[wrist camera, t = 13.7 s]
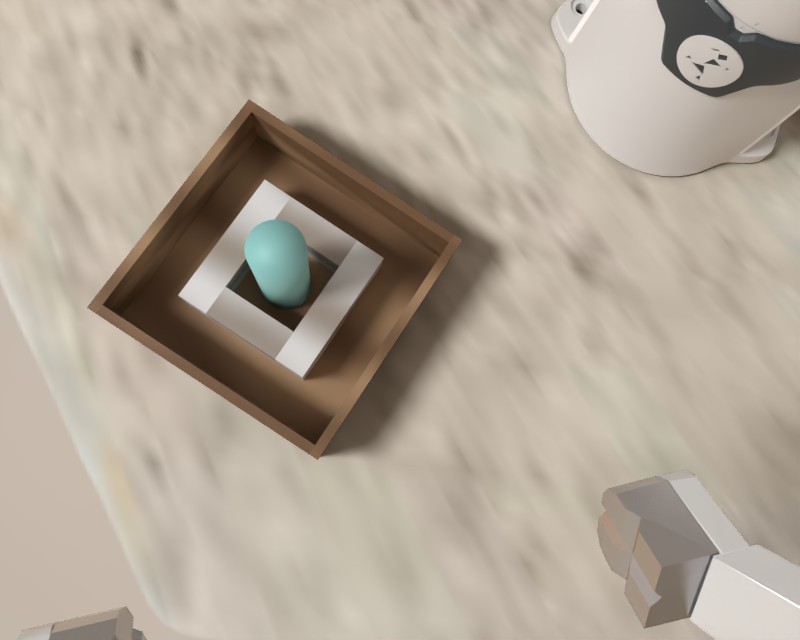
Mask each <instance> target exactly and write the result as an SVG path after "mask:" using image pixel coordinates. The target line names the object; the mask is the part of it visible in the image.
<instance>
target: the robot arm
mask: <svg viewBox="0 0 800 640" xmlns="http://www.w3.org/2000/svg"><path fill="white" fill-rule="evenodd" d="M576 10H580V11H581V12H582V13H583V14H579V13H578V12H577V11H576ZM551 26H552V30H553V33H554V35H555V38H556V40H557V42H558V44H559V46H560V48H561V50H562V52H563V54H564V57H565V62H566V76H567V87H568V92H569V96H570V100H571V103H572V106H573V109H574V111H575V113H576V115H577V117H578V119H579V121H580V123H581V124H582V126H583V128H584V129H585V130H586V132H587V133H588V134H589V136H590V137H591V138H592V139H593V140H594V141H595V142H596V144H597V145H598V146H600V147H601V148H602V149H603V150H604V151H605V152H606V153H608V154H609V155H610V156H612V157H613V158H615V159H616V160H618V161H619V162H621V163H623V164H625V165H627V166H629V167H631V168H633V169H636V170H639V171H642V172H645V173H649V174H653V175H660V176H684V175H690V174H694V173H698V172H701V171H704V170H706V169H708V168H711V167H713V166H716V165H719V164H722V163H726V162H731V163H755V162H759V161H761V160H763V159H764V158H765V157H766V156H767V155H769V154H770V153H771V152H772V150H773V148H774V146H775V143H776V139H777V136H778V133H779V129H780V126H781V123H782V122H783V121H785V120H786V119H787V118H788V117H790V116H791V115H792V114H793V113H795V112H796V111H797V110H798V109H800V0H566V1H565V2H564V3H563V4H562V5H561V6H560V7H559V9H558V10H557V11H556V12H555V14H554V15H553V17H552V20H551ZM602 504H603V506H604V507H605V509H606V511H605V512H604V513H603V514H602V515H601V516H600V517H599V520H598V528H597V532H598V537H599V543H600V547H601V549H602V552H603V554H604V557H605V559H606V561H607V563H608V564H609V566H610V568H611V570H612V571H614V572H615V573H617V574H618V575H620V576H621V577H623V578H625V579H626V584H625V592H624V594H625V595H626V597H627V599H628V601H629V603H630V604H631V606H632V608H633V610H634V612H635V613H636V615H637V617H638V619H639V620H640V622H641V624H642V626H643V628H648V627H652V626H656V625H660V624H664V623H669V622H673V621H677V620H681V619H685V618H689V617H691V618H690V620H691V621H692V622H693V623H695V624H696V625H697V626H698V627H700V628H701V629H702V630H704V631H705V632H706V633H708V634H709V635H710V636H711V637H713V638H714V639H715V640H800V567H799V566H797V565H795V564H793V563H791V562H790V561H788V560H786V559H784V558H782V557H780V556H779V555H777V554H775V553H773V552H771V551H769V550H768V549H766V548H764V547H762V546H760V545H758V544H756V545H751V546H750V545H749V544H748V543H747V541H746V540H745V539H744V538H743V536H742V535H741V534H740V533H739V531H738V530H737V529H736V527H735V526H734V525H733V524H732V522H731V521H730V520H729V518H728V517H727V516H726V515H725V513H724V512H723V511H722V509H721V508H720V507H719V506H718V504H717V503H716V502H715V501H714V499H713V498H712V497H711V495H710V494H709V493H708V492H707V490H706V489H705V488H704V486H703V485H702V484H701V483H700V481H699V480H698V479H697V477H696V476H695V475H694V474H693V473H691V472H690V471H688V470H681V471H677V472H673V473H669V474H665V475H662V476H654V477H651V478H647V479H643V480H639V481H635V482H632V483H628V484H624V485H620V486H616V487H612V488H609V489H607V490H606V491H605V492H604V493H603V497H602ZM132 627H133V616H132V614H131V613H130V611H129V610H128V608H127V607H126V606H125V607H121V608H116V609H112V610H108V611H104V612H99V613H95V614H91V615H87V616H82V617H78V618H74V619H70V620H65V621H61V622H55V623H50V624H47V625H42V626H38V627H35V628H30V629H27V630H22V632H21V634H20V635H19V637H18V639H17V640H147V639H146V638H145V636H144V634H143V632H142V631H139V630H136V629H133V628H132Z"/></svg>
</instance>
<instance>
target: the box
mask: <svg viewBox="0 0 800 640" xmlns="http://www.w3.org/2000/svg"><path fill="white" fill-rule="evenodd" d="M274 219H278V220H284V221H287V222H289V223H291V224H293V225H294V226H296V227H297V228H298V229H299V230H300V231H301V233H302V234H303V236H304V238H305V241H306V246H307V254H308V263H309V271H310V279H311V291H310V294H309V297H308V298H307V300H306V301H305V302H304V303H303V304H302V305H301V306H299V307H297V308H295V309H291V310H282V309H278V308H276V307H274V306H272V305H271V304H270V303H269V302H268V301H267V300H266V299H265V297H264V295H263V293H262V291H261V289H260V287H259V285H258V283H257V281H256V279H255V276H254V274H253V272H252V270H251V268H250V266H249V264H248V262H247V260H246V257H245V251H244V248H245V242H246V239H247V236H248V235H249V233H250V232H251V230H252V229H253V228H254V227H255V226H257V225H258V224H260V223H262V222H264V221H267V220H274ZM461 241H462V240H461V239H460V238H458V237H457V236H455V235H454V234H452V233H451V232H449V231H448V230H446V229H445V228H443V227H442V226H440V225H439V224H437V223H436V222H434V221H432V220H431V219H429V218H428V217H426V216H425V215H423V214H422V213H420V212H419V211H417V210H416V209H414V208H413V207H411V206H410V205H408V204H407V203H405V202H404V201H402V200H401V199H399V198H398V197H396V196H395V195H393V194H392V193H390V192H389V191H387V190H385V189H384V188H382V187H381V186H379V185H378V184H376V183H375V182H373V181H372V180H370V179H369V178H367V177H366V176H364V175H363V174H361V173H360V172H358V171H357V170H355V169H354V168H352V167H351V166H349V165H348V164H346V163H345V162H343V161H342V160H340V159H339V158H337V157H335V156H334V155H332V154H331V153H329V152H328V151H326V150H325V149H323V148H322V147H320V146H319V145H317V144H316V143H314V142H313V141H311V140H310V139H308V138H307V137H305V136H304V135H302V134H301V133H299V132H298V131H296V130H295V129H293V128H292V127H290V126H288V125H287V124H285V123H284V122H282V121H281V120H279V119H278V118H276V117H275V116H273V115H272V114H270V113H269V112H267V111H266V110H264V109H263V108H261V107H260V106H258V105H257V104H255V103H254V102H252V101H251V100H248V101H247V103H246V104H245V105H244V106H243V108H242V109H241V110H240V112H239V113H238V114H237V115H236V117H235V118H234V119H233V121H232V122H231V123H230V124H229V126H228V127H227V128H226V130H225V131H224V132H223V133H222V135H221V136H220V137H219V139H218V140H217V141H216V142H215V144H214V145H213V146H212V148H211V149H210V150H209V151H208V153H207V154H206V155H205V157H204V158H203V159H202V160H201V162H200V163H199V164H198V166H197V167H196V168H195V169H194V171H193V172H192V173H191V175H190V176H189V177H188V178H187V180H186V181H185V182H184V184H183V185H182V186H181V187H180V189H179V190H178V191H177V193H176V194H175V195H174V196H173V198H172V199H171V200H170V202H169V203H168V204H167V205H166V207H165V208H164V209H163V211H162V212H161V213H160V214H159V216H158V217H157V218H156V220H155V221H154V222H153V223H152V225H151V226H150V227H149V229H148V230H147V231H146V232H145V234H144V235H143V236H142V238H141V239H140V240H139V241H138V243H137V244H136V245H135V247H134V248H133V249H132V250H131V252H130V253H129V254H128V256H127V257H126V258H125V259H124V261H123V262H122V263H121V265H120V266H119V267H118V268H117V270H116V271H115V272H114V274H113V275H112V276H111V277H110V279H109V280H108V281H107V283H106V284H105V285H104V286H103V288H102V289H101V290H100V292H99V293H98V294H97V295H96V297H95V298H94V299H93V301H92V302H91V303H90V304H89V306H88V307H87V308H89V309H90V310H92V311H93V312H95V313H96V314H98V315H99V316H101V317H102V318H104V319H105V320H107V321H108V322H110V323H111V324H113V325H114V326H116V327H117V328H119V329H120V330H122V331H123V332H125V333H126V334H128V335H129V336H131V337H132V338H134V339H135V340H137V341H139V342H140V343H142V344H143V345H145V346H146V347H148V348H149V349H151V350H152V351H154V352H155V353H157V354H158V355H160V356H161V357H163V358H164V359H166V360H167V361H169V362H170V363H172V364H173V365H175V366H176V367H178V368H179V369H181V370H182V371H184V372H185V373H187V374H188V375H190V376H192V377H193V378H195V379H196V380H198V381H199V382H201V383H202V384H204V385H205V386H207V387H208V388H210V389H211V390H213V391H214V392H216V393H217V394H219V395H220V396H222V397H223V398H225V399H226V400H228V401H229V402H231V403H232V404H234V405H235V406H237V407H238V408H240V409H241V410H243V411H245V412H246V413H248V414H249V415H251V416H252V417H254V418H255V419H257V420H258V421H260V422H261V423H263V424H264V425H266V426H267V427H269V428H270V429H272V430H273V431H275V432H276V433H278V434H279V435H281V436H282V437H284V438H285V439H287V440H288V441H290V442H291V443H293V444H294V445H296V446H298V447H299V448H301V449H302V450H304V451H305V452H307V453H308V454H310V455H311V456H313V457H314V458H316V459H317V460H318V459H319V457H320V456H321V454H322V453H323V451H324V450H325V448H326V447H327V445H328V444H329V442H330V441H331V439H332V438H333V436H334V434H335V433H336V431H337V430H338V428H339V427H340V425H341V424H342V422H343V421H344V419H345V418H346V416H347V415H348V413H349V412H350V410H351V409H352V407H353V406H354V404H355V403H356V401H357V399H358V398H359V396H360V395H361V393H362V392H363V390H364V389H365V387H366V386H367V384H368V383H369V381H370V380H371V378H372V377H373V375H374V374H375V372H376V371H377V369H378V367H379V366H380V364H381V363H382V361H383V360H384V358H385V357H386V355H387V354H388V352H389V351H390V349H391V348H392V346H393V345H394V343H395V342H396V340H397V339H398V337H399V336H400V334H401V332H402V331H403V329H404V328H405V326H406V325H407V323H408V322H409V320H410V319H411V317H412V316H413V314H414V313H415V311H416V310H417V308H418V307H419V305H420V304H421V302H422V301H423V299H424V297H425V296H426V294H427V293H428V291H429V290H430V288H431V287H432V285H433V284H434V282H435V281H436V279H437V278H438V276H439V275H440V273H441V272H442V270H443V269H444V267H445V265H446V264H447V262H448V261H449V259H450V258H451V256H452V255H453V253H454V252H455V250H456V249H457V247H458V246H459V244H460V243H461Z"/></svg>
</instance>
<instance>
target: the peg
mask: <svg viewBox="0 0 800 640" xmlns="http://www.w3.org/2000/svg"><path fill="white" fill-rule="evenodd" d="M244 251H245V257H246V260H247V262H248V264H249V266H250V268H251V270H252V272H253V274H254V276H255V279H256V281H257V283H258V285H259V287H260V289H261V291H262V293H263V295H264V297H265V299H266V300H267V301H268V302H269V303H270V304H271V305H272V306H274V307H276V308H278V309H282V310H291V309H295V308H297V307H299V306H301V305H302V304H303V303H304V302H305V301H306V300H307V298H308V297H309V294H310V291H311V279H310V271H309V263H308V254H307V246H306V241H305V238H304V236H303V234H302V233H301V231H300V230H299V229H298V228H297V227H296V226H294V225H293V224H291V223H289V222H287V221H284V220H278V219H274V220H267V221H264V222H262V223H260V224H258V225H257V226H255V227H254V228H253V229H252V230H251V232H250V233H249V235H248V236H247V239H246V242H245V248H244Z"/></svg>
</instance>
